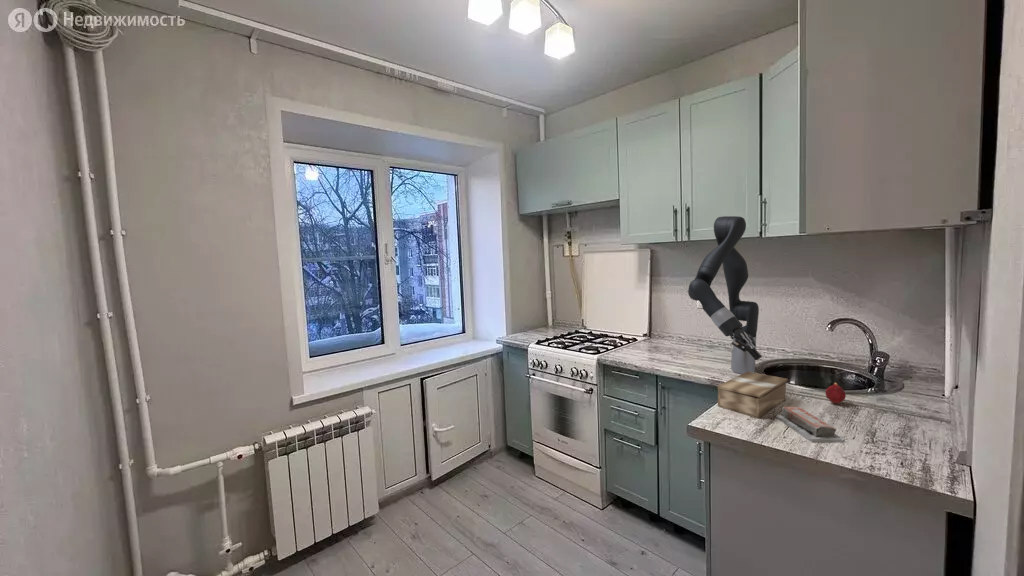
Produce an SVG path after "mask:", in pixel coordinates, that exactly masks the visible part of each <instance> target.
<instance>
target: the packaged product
mask: <svg viewBox="0 0 1024 576" xmlns="http://www.w3.org/2000/svg"><path fill="white" fill-rule="evenodd" d="M776 419H778V420H779V421H780V422H782V423H783V424H784V425H786V426H788V428H790V429H792V431H795V432H796V433H797V434H798V435H800V436H802V437H803V438H804V439H806V440H808V441H809V442H811V443H845V441H846V440H845V438H843V437H841V436H840V435H838V434H836V431H837V429H836V427H834V426H832V425H830V424H829V423H827V422H825V421H824V420H822V419H821V418H819V417H818V416H815V415H814V414H812V413H811V412H809V411H808V410H806V409H804V408H802V407H799V406H783V407H782V409H781V414H776Z"/></svg>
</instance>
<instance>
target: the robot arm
mask: <svg viewBox="0 0 1024 576" xmlns="http://www.w3.org/2000/svg"><path fill="white" fill-rule="evenodd" d="M746 229H747V223H746V220H745V218H744V217H742V216H737V215H736V216H733V215H732V216H726V215H725V216H719V217H716V219H715V220H714V223H713V232H714V236H715V240H716V243H717V246H716V247H715V248H714V249H712V250H711V251H710V252H709V253H708V254H706V256H705V257H704V258H703V260H702V262H701V264H700V265H699V268H698V270H697V271H696V272H697V273H696V275H695V277H694V279H692V281H690V282H689V285H688V290H687V294H688V296H689V298H690V299H691V300H693V301H699V302H700V305H701V308H702V309H703V311H704V312H705V313H706V315H707V316H708V317H709V319H711V321H712V322H713V323H714V325H715V326H716V327H717V328H718V329H719V331H720V332H721V333H722V334H723V335H724V336H725V337H730V339H731V340H732V342H731V345H732V349H731V363H730V369H731V370H732V371H733V372H734V373H737V374H739V375H741V374H743V373H745V372H753V373H756V361H758V360H760V359H761V358H762V357H763V356H762V354H761V353H759V351H758V350H757V332H758V323H759V322H758V321H759V315H760V312H759V311H760V307H759V305H758V303H757V302H756V301H749V300H741V298H740V292H741V290H742V289H743V287H744V286H745V284H746V283H747V281H748V279H749V270H748V265H747V261H746V260H745V258H744V257H743V256H742V254H741V253H740V252H739V251H738V250H737V249H736V248H735V246H736V245H737V244H738V243H739V241H740V240H741V238H742V237H743V236H744V233H745V232H746ZM721 266H722V268H723V270H722V271H723V274H724V278H725V283H726V288H727V294H728V304H729V305H728V307H729V308H727V306H726V305H724V303H723V302H722V301H721V300H720V299H719V298H718V297H717V295H716V294H715V292H714V291H713V289H712V287H711V285H712V282H713V281H714V279H715V277H716V276H717V274H718V272H719V270H720V268H721ZM742 322H746V324H745V325H743V323H742Z"/></svg>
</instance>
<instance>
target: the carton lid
mask: <svg viewBox="0 0 1024 576" xmlns="http://www.w3.org/2000/svg"><path fill="white" fill-rule="evenodd" d="M788 381H789V379H788V378H785V377H779V376H774V375H769V374H762V373H757V372H755V373H753V372H745V373H743V374H739V375H738V376H735V377H733V378H731V379H728V380H726V381H725V382H723V383H721V384H717V389H718V388H720V389H724V390H729V391H733V392H738V393H742V394H747V395H751V396H755V397H762V396H763V395H765V394H767V393H768V392H770V391H772V390H773V389H775V388H777V387H778V386H780V385H782V384H784V383H787V382H788Z"/></svg>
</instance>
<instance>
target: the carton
mask: <svg viewBox="0 0 1024 576" xmlns="http://www.w3.org/2000/svg"><path fill="white" fill-rule="evenodd" d="M786 395H787V382H785V383H784V384H782V385H780V386H778V387H777V388H775V389H773V390H772V391H770V392H768V393H767V394H765V395H763V396H762V397H755V396H751V395H747V394H742V393H738V392H733V391H729V390H724V389H720V388H718V387H717V407H718V408H722V409H724V410H725V409H726V410H729V411H732V412H734V413H739V414H741V415H745V416H747V417H752V418H755V419H760V418H761V417H763V416H764V415H766V414H767V413H769V412H770V411H773V409H775V408H777V407H778V406H780V405H781V404H783V403H784V402H786Z"/></svg>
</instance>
